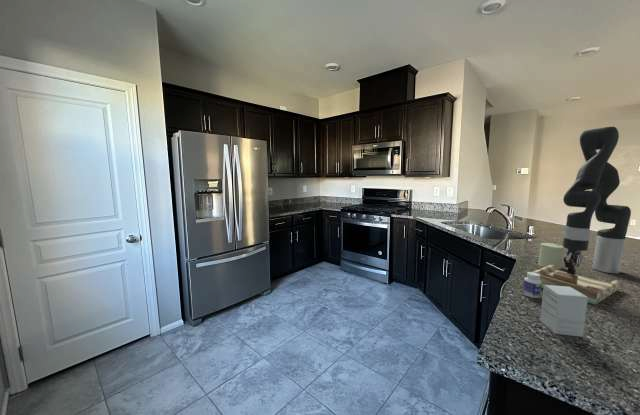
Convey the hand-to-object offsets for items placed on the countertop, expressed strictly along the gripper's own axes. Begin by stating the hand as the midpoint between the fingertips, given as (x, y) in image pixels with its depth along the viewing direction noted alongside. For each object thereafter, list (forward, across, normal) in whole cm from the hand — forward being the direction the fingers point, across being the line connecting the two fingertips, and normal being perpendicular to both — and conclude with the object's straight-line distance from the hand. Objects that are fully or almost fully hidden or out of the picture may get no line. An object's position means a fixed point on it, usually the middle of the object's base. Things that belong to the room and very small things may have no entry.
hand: (570, 276), depth 108 cm
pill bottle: (+4, +25, -4) cm, 25 cm away
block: (+2, +5, 0) cm, 5 cm away
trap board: (+4, 0, 0) cm, 4 cm away
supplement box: (+4, +44, +11) cm, 45 cm away
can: (+4, -23, -15) cm, 28 cm away
